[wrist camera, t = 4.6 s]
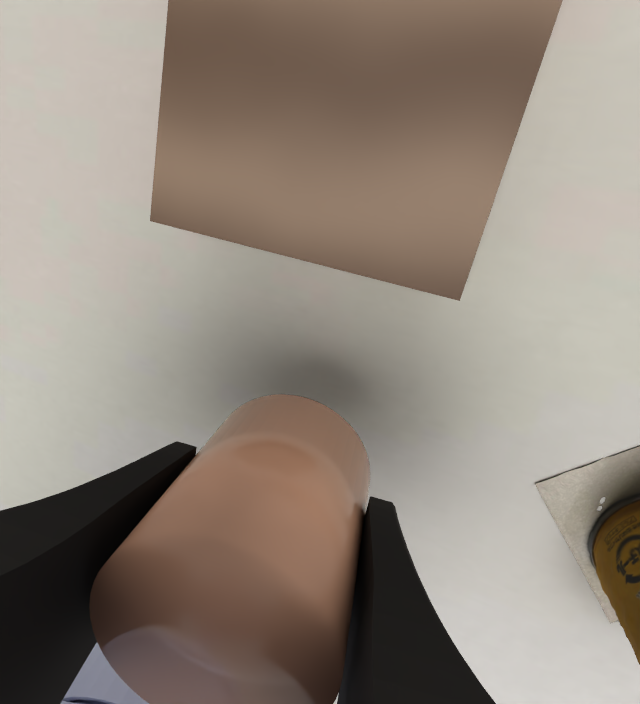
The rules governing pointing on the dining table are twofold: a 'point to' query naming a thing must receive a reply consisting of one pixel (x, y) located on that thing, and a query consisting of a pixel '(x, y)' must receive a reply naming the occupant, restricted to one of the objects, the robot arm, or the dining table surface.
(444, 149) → the walnut block
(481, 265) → the dining table surface
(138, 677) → the terracotta cylinder
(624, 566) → the condiment
